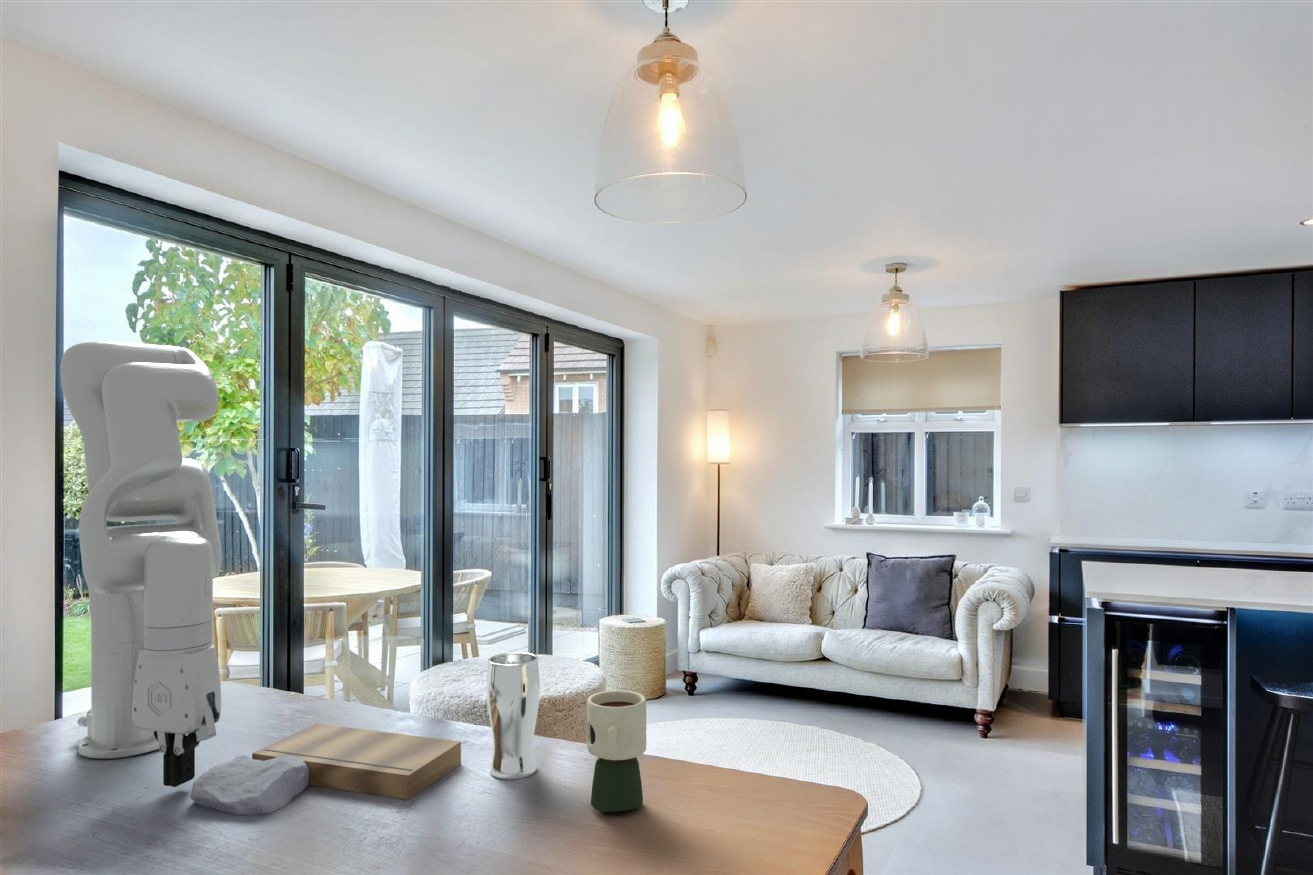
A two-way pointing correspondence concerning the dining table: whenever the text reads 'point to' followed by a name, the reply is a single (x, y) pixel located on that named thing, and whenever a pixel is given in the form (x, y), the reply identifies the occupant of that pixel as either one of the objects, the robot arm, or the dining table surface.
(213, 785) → the stone block
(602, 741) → the character mug
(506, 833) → the dining table surface
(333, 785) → the brown wooden board
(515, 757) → the beer glass
